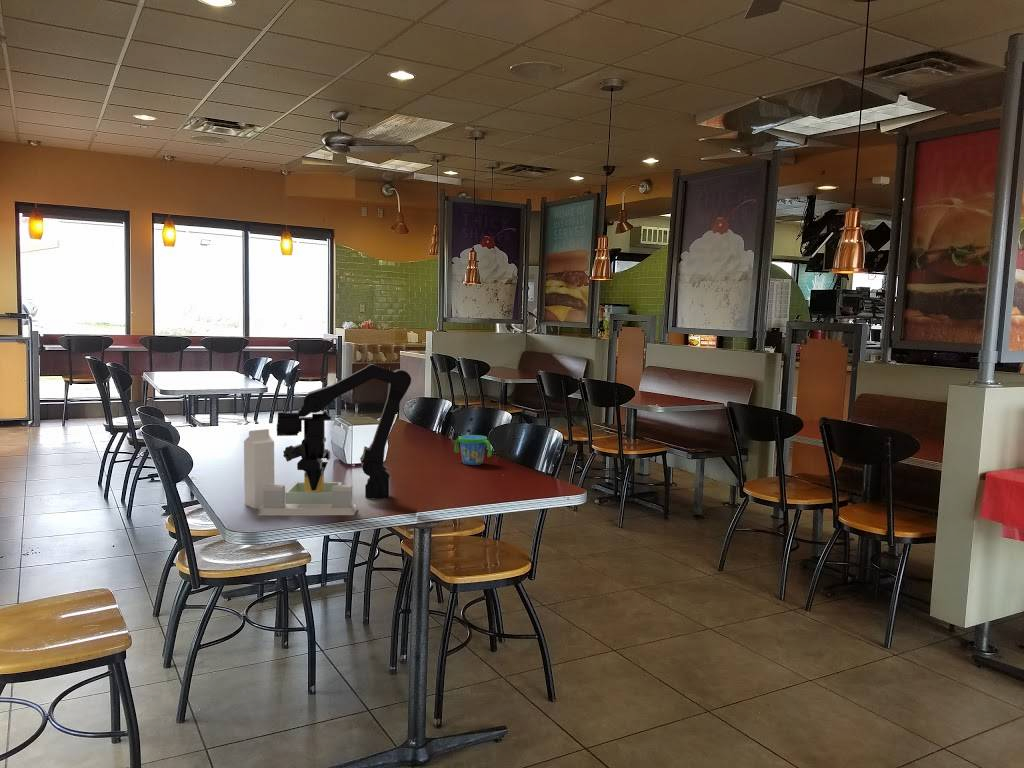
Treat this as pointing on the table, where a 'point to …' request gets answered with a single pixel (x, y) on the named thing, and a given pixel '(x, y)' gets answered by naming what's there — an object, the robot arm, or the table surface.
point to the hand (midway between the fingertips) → (314, 488)
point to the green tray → (309, 494)
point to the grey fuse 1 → (274, 496)
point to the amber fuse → (319, 487)
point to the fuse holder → (307, 510)
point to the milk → (258, 466)
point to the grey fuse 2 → (342, 496)
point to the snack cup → (472, 448)
